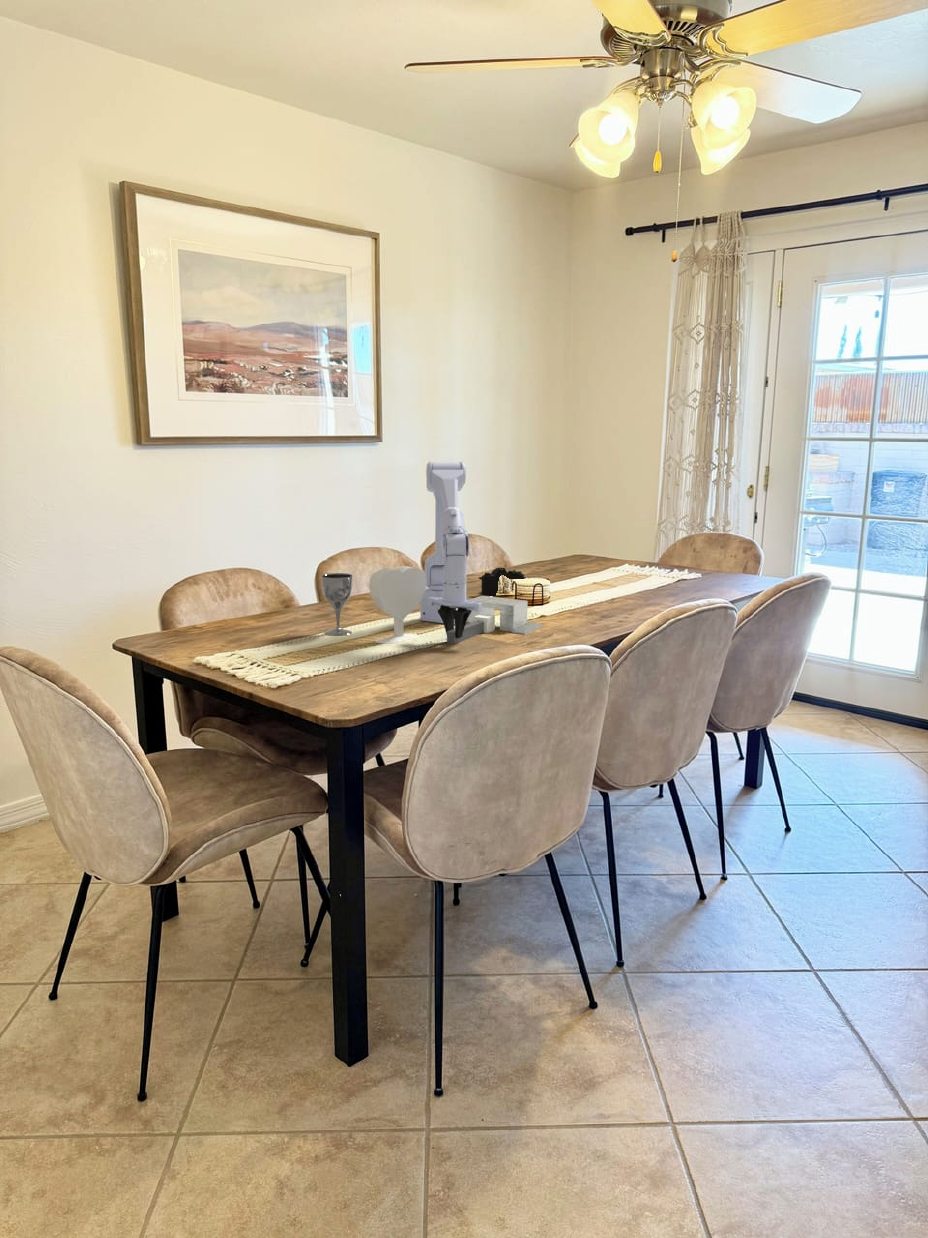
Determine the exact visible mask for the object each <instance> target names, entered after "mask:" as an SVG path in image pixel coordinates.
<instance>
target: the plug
mask: <svg viewBox="0 0 928 1238" xmlns="http://www.w3.org/2000/svg"><path fill="white" fill-rule="evenodd" d="M495 623H496V615H495V616H494V615H486V614H480V615H477V616H474V622H473V623H470V624H467V625H465V627H464V631H463V635H462V637H461V638H456V636H455V628H454V629H453V630H450V631H447V635H446V644H449V645H455V644H459V643H461V642H463V641H466V640H469V639H471V638H474V637H476V636H479V635H481V634H484V633H485V634H489V633H491V632H494V631H495V630H496V629H495V627H496V626H495V625H496V624H495Z"/></svg>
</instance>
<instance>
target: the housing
mask: <svg viewBox="0 0 928 1238" xmlns="http://www.w3.org/2000/svg"><path fill="white" fill-rule="evenodd" d="M469 600H470V601H475V602H480V603H482V611H479V612H475V611H473V610H472V612H471V614H470V615H469V617H468V619H467V622H466V624H465V625H467V624H470V623H473V622H474V616H477V615H480V614H486V615H494V616H495V617H496V614H495V610H499V631H505V632H511V633H512V634H521V635H527V634H530V633H532V632H534V631H536V630H539V629H542V628H543V623H537V622H531V621H529V622H528V600H526V599H525V600H524V599H523V600H522V599H515V598H514V599H513V598H508V597H507V598H506V597H490V596H482V595H479V596H476V597H474V598H470V599H469ZM454 624H455V620H454Z"/></svg>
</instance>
